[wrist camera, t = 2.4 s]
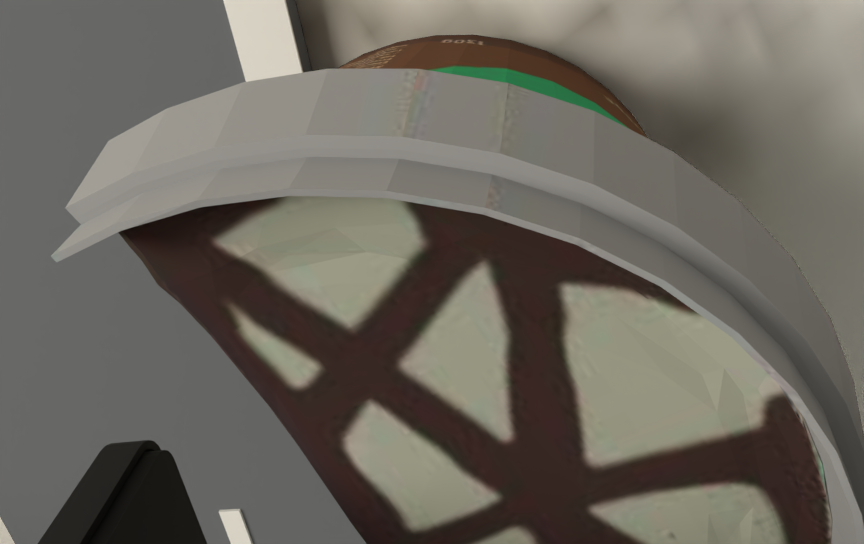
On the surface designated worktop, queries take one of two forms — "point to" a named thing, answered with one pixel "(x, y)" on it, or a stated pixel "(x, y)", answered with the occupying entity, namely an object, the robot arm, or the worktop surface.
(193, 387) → the mat
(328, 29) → the worktop surface
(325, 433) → the food container
